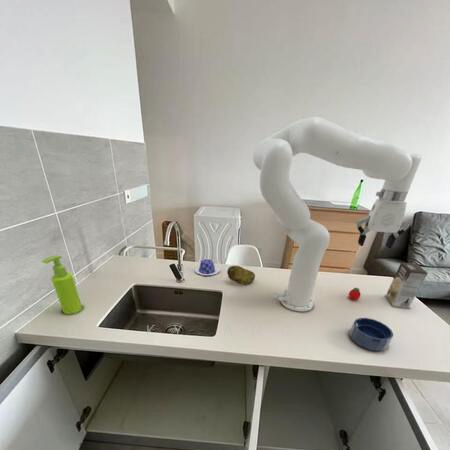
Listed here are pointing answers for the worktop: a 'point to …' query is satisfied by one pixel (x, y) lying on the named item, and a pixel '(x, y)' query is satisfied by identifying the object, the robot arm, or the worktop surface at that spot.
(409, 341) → the worktop surface
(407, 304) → the coffee box
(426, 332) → the worktop surface
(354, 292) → the strawberry
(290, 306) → the robot arm
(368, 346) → the dessert bowl
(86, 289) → the worktop surface
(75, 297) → the soap dispenser
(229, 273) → the potato
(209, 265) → the pudding
